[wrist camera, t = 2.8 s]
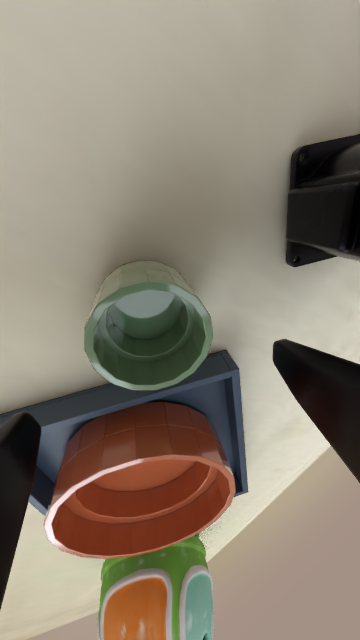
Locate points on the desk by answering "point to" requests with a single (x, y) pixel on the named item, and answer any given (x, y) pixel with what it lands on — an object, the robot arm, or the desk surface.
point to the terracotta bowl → (138, 482)
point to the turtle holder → (158, 595)
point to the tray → (194, 391)
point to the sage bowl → (147, 327)
